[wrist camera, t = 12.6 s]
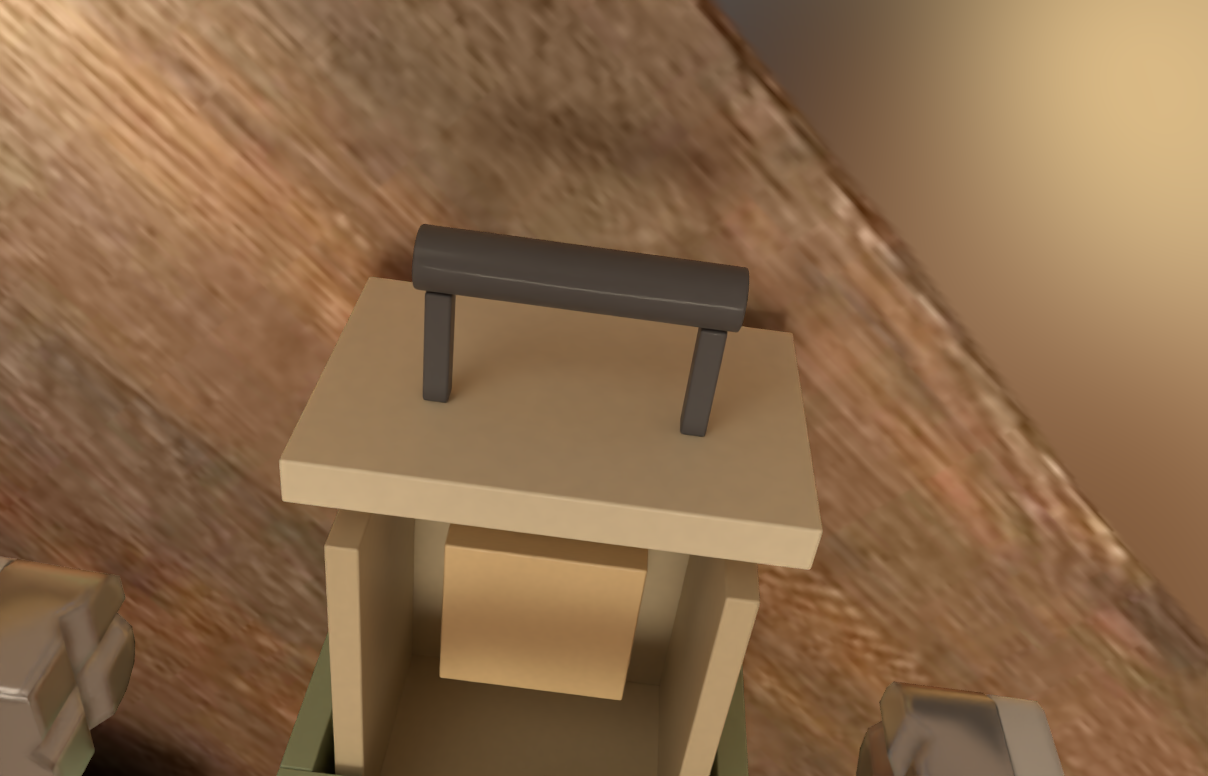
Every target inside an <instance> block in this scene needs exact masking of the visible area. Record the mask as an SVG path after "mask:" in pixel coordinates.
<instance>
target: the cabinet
mask: <svg viewBox="0 0 1208 776" xmlns="http://www.w3.org/2000/svg"><path fill="white" fill-rule="evenodd" d="M277 776H342V775H336V774H335V754H334V734H333V713H332V693H331V673H330V653H329V633H327V636H326V639H325V642H324V644H323V647H322V650H321V653H320V656H319V658H318V661H317V664H316V667H315V670H314V672H313V675H312V678H311V681H310V684H309V686H308V689H307V692H306V695H305V698H304V700H303V703H302V706H301V709H300V711H299V714H298V717H297V720H296V723H295V725H294V728H293V731H292V734H291V737H290V739H289V742H288V745H287V748H286V751H285V753H284V756H283V759H282V762H281V765H280V769H279V770H278V773H277ZM709 776H748V759H747V741H746V722H745V704H744V685H743V667H742V666H741V670H740V673H739V677H738V680H737V683H736V687H735V690H734V694H733V697H732V700H731V704H730V707H729V711H728V714H727V717H726V721H725V724H724V728H723V731H722V735H721V738H720V741H719V745H718V748H717V752H716V755H715V758H714V762H713V765H712V769H711V772H710V775H709Z"/></svg>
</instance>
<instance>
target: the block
mask: <svg viewBox="0 0 1208 776" xmlns="http://www.w3.org/2000/svg"><path fill="white" fill-rule="evenodd" d="M647 572H648V549H644V548H636V547H629V546H621V545H613V544H606V543H598V542H590V541H583V540H575V539H567V538H560V537H552V536H544V535H537V534H529V533H521V532H514V531H506V530H498V529H491V528H483V527H475V526H468V525H460V524H452V523H450V526H449V530H448V534H447V538H446V541H445V545H444V569H443V594H442V618H441V642H440V666H439V676H440V677H441V678H448V679H456V680H464V681H472V682H479V683H487V684H495V685H503V686H511V687H519V688H526V689H534V690H542V691H550V692H558V693H566V694H573V695H581V696H589V697H597V698H605V699H613V700H621V699H622V697H623V692H624V687H625V682H626V677H627V672H628V667H629V662H630V657H631V652H632V647H633V642H634V637H635V632H636V627H637V622H638V617H639V612H640V607H641V602H642V597H643V592H644V587H645V582H646V577H647Z"/></svg>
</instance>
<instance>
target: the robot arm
mask: <svg viewBox="0 0 1208 776" xmlns="http://www.w3.org/2000/svg"><path fill="white" fill-rule="evenodd" d="M124 600H125V594H124V591H123V587H122V584H121V580H120V576H116V575H111V574H105V573H99V572H93V571H87V570H81V569H75V568H69V567H63V566H57V565H51V564H45V563H39V562H33V561H27V560H21V559H14V558H7V557H1V556H0V776H82V774H83V772H84V770H85V768H86V766H87V765H88V763H89V761H90V759H91V757H92V755H93V753H94V752H95V750H94V746H93V742H92V738H91V734H90V730H91V729H92V728H94V727H95V726H97V725H98V724H100V723H101V722H103V721H104V720H106V719H107V718H109V717H110V716H112V715H113V714H115V712H116V710H117V708H118V706H119V704H120V702H121V700H122V698H123V696H124V694H125V692H126V690H127V686H128V683H129V679H130V676H131V672H132V669H133V665H134V656H135V639H134V634H133V629H132V626H131V625H130V624H129V623H128V622H127V621H126V620H125V619H123V618H122V617H121V616H120V615H119V614H118V613H117V612H118V610H119V608H120V607H121V605H122V603H123V601H124ZM879 703H880V710H881V716H882V721H880V722H879V723H877V724H875V725H873V726H871V727H870V728H868V729H867V732H866V735H865V737H864V740H863V742H862V745H861V747H860V753H859V759H858V766H857V772H856V776H1064V773H1063V769H1062V766H1061V763H1060V760H1059V757H1058V754H1057V750H1056V747H1055V744H1054V741H1053V738H1052V734H1051V731H1050V728H1049V725H1048V722H1047V719H1046V715H1045V712H1044V710H1043V709H1042V707H1041V706H1040V705H1039V704H1038V703H1037V701H1031V700H1024V699H1017V698H1010V697H1003V696H996V695H985V694H984V693H981V692H973V691H965V690H957V689H949V688H941V687H933V686H925V685H917V684H909V683H901V682H893V683H891V684H890V685H889V686H888V687H887V688H886V690H885V692H884V694H883V696H882V698H881V700H880V702H879Z"/></svg>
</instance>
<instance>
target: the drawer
mask: <svg viewBox="0 0 1208 776" xmlns="http://www.w3.org/2000/svg"><path fill="white" fill-rule="evenodd" d="M748 291H749V271H748V269H747V268H746V267H739V266H731V265H724V264H717V263H709V262H702V261H694V260H687V259H680V258H672V257H665V256H657V255H650V254H643V253H635V252H628V251H620V250H613V249H605V248H598V247H591V246H583V245H576V244H568V243H561V242H554V241H546V240H539V239H531V238H524V237H517V236H509V235H502V234H494V233H487V232H480V231H472V230H465V229H457V228H450V227H443V226H435V225H428V224H423V225H421V226H420V228H419V230H418V233H417V236H416V240H415V246H414V252H413V261H412V282H408V281H400V280H393V279H385V278H378V277H369V279H368V281H367V283H366V285H365V287H364V289H363V291H362V293H361V295H360V297H359V299H358V301H357V303H356V305H355V307H354V309H353V311H352V313H351V315H350V317H349V319H348V321H347V323H346V325H345V327H344V329H343V331H342V333H341V335H340V338H339V340H338V342H337V344H336V346H335V348H334V350H333V352H332V354H331V356H330V358H329V360H328V362H327V364H326V366H325V368H324V370H323V372H322V374H321V376H320V378H319V380H318V382H317V384H316V386H315V388H314V390H313V392H312V395H311V397H310V399H309V401H308V403H307V405H306V407H305V409H304V411H303V413H302V415H301V417H300V419H299V421H298V423H297V425H296V427H295V429H294V431H293V433H292V435H291V437H290V439H289V441H288V443H287V445H286V447H285V449H284V452H283V454H282V456H281V458H280V460H279V468H280V480H281V493H282V500H283V501H284V502H291V503H299V504H306V505H314V506H322V507H329V508H337V509H339V510H338V513H337V515H336V518H335V520H334V523H333V525H332V528H331V530H330V533H329V535H328V538H327V540H326V543H325V545H324V552H325V572H326V592H327V612H328V633H329V653H330V673H331V693H332V713H333V734H334V754H335V774H336V775H342V776H709V775H710V772H711V769H712V765H713V762H714V758H715V755H716V752H717V748H718V745H719V741H720V738H721V735H722V731H723V728H724V724H725V721H726V717H727V714H728V711H729V707H730V704H731V700H732V697H733V694H734V690H735V687H736V683H737V680H738V677H739V673H740V670H741V666H742V663H743V660H744V656H745V653H746V649H747V646H748V643H749V639H750V636H751V632H752V629H753V625H754V622H755V619H756V615H757V612H758V608H759V605H760V594H759V580H758V567H757V563H759V564H767V565H775V566H782V567H790V568H798V569H805V570H809V569H810V568H811V567H812V563H813V560H814V557H815V554H816V551H817V548H818V545H819V542H820V539H821V536H822V533H823V530H822V524H821V517H820V511H819V504H818V497H817V491H816V484H815V478H814V471H813V464H812V458H811V451H810V445H809V438H808V432H807V425H806V418H805V412H804V405H803V399H802V392H801V385H800V379H799V372H798V366H797V359H796V352H795V346H794V339H793V334H792V333H788V332H781V331H773V330H766V329H758V328H751V327H743V326H742V324H743V320H744V316H745V311H746V306H747V300H748ZM450 523H452V524H460V525H468V526H475V527H483V528H491V529H498V530H506V531H514V532H521V533H529V534H537V535H544V536H552V537H560V538H567V539H575V540H583V541H590V542H598V543H606V544H613V545H621V546H629V547H636V548H644V549H648V572H647V577H646V582H645V587H644V592H643V597H642V602H641V607H640V612H639V617H638V622H637V627H636V632H635V637H634V642H633V647H632V652H631V657H630V662H629V667H628V672H627V677H626V682H625V687H624V692H623V697H622V699H621V700H613V699H605V698H597V697H589V696H581V695H573V694H566V693H558V692H550V691H542V690H534V689H526V688H519V687H511V686H503V685H495V684H487V683H479V682H472V681H464V680H456V679H448V678H441V677H440V676H439V666H440V642H441V618H442V594H443V569H444V545H445V541H446V538H447V534H448V530H449V526H450Z"/></svg>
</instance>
